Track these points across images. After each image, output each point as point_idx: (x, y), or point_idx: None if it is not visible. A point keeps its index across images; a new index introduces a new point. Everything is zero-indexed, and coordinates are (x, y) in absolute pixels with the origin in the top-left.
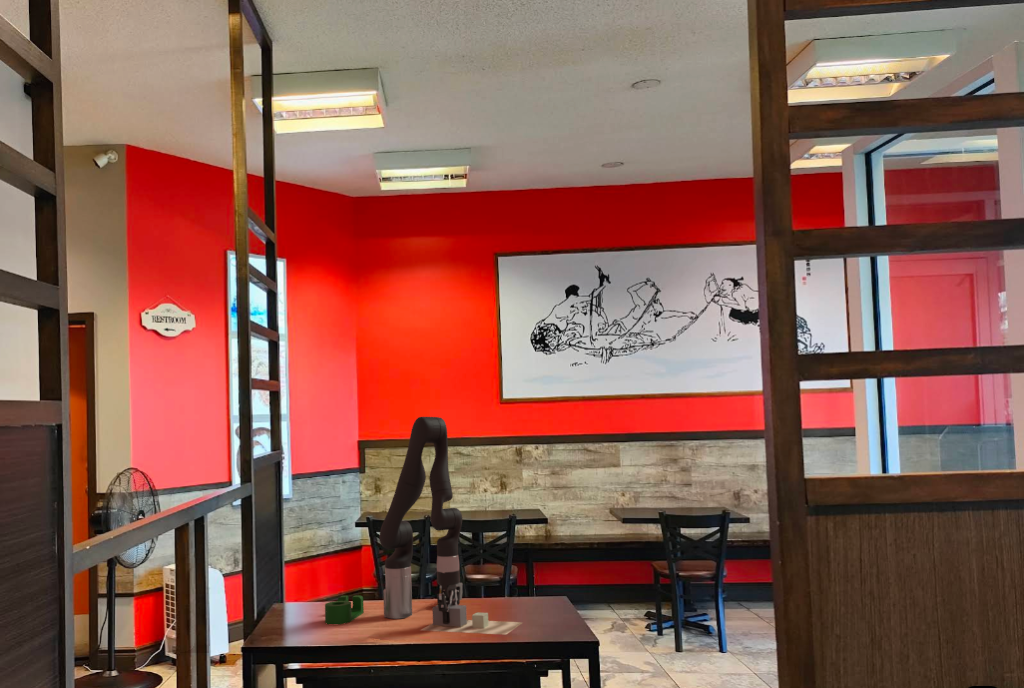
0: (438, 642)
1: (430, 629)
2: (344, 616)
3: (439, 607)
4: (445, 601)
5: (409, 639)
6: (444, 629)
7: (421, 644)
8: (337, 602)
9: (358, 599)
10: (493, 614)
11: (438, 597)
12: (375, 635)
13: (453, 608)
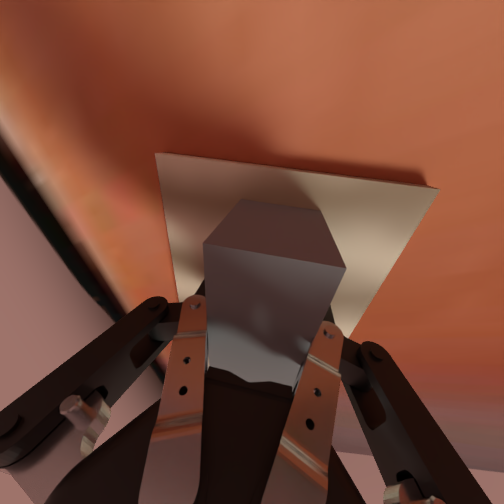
0: (98, 263)
1: (181, 206)
2: None
3: (128, 320)
4: (118, 389)
5: (64, 142)
6: (198, 262)
7: (51, 219)
8: None
9: None
10: (498, 367)
11: (26, 406)
12: None
13: (209, 358)
